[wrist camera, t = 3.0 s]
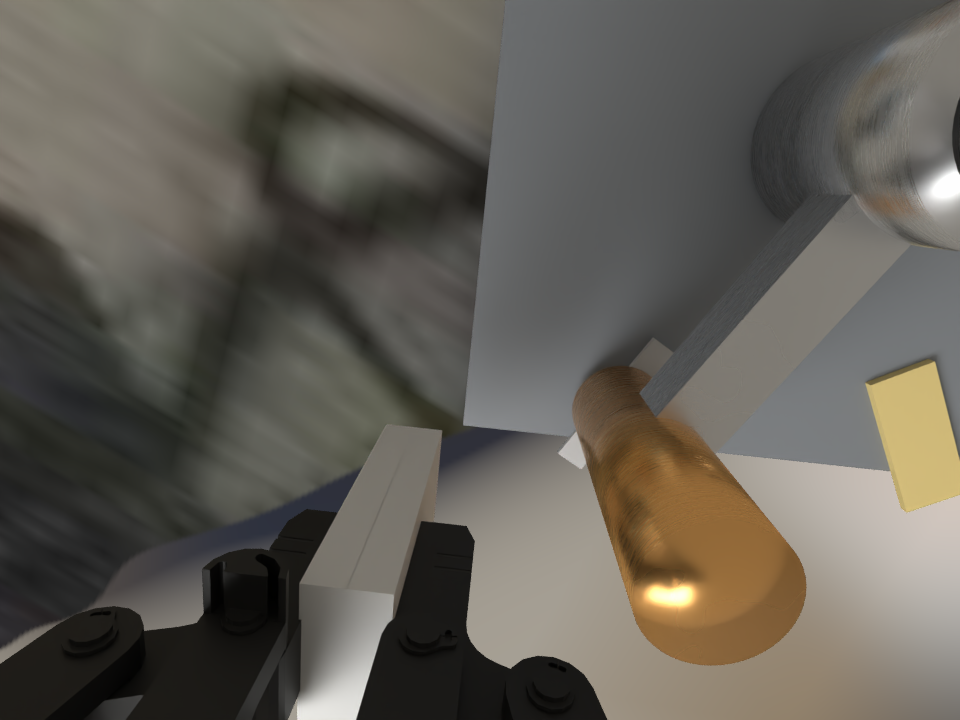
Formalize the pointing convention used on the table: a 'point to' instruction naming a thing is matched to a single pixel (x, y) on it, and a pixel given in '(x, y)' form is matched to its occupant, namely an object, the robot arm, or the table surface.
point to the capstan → (773, 334)
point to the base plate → (687, 233)
